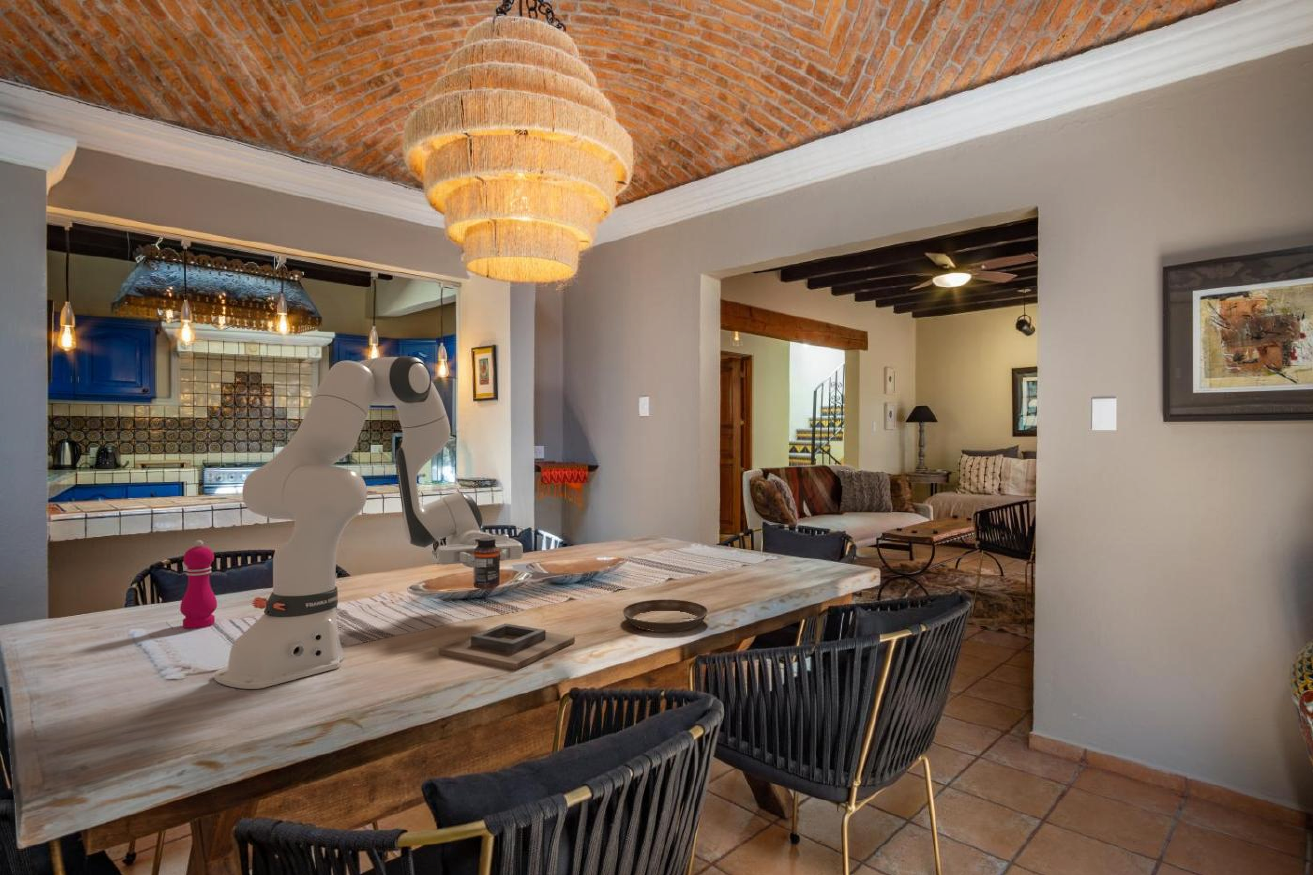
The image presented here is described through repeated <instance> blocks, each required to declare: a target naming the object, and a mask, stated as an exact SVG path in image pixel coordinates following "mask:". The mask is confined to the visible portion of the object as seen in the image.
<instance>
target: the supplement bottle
mask: <svg viewBox="0 0 1313 875" xmlns="http://www.w3.org/2000/svg"><path fill="white" fill-rule="evenodd" d="M495 544H496V543H495V538H490V537H485V538H479V539H478V546H477V547H476V548H475V549H474V555H475V558H474V559H475V562H474V566H473V567H474V568H473V577H472V578H473V581H472V582H473V583H472V584H473V587H474V588H475V589H479V590H490V589H492V590H493V589H495V588H497V587H499V586H500V578H501V577H500V576H501V575H500V574H501V573H500V572H501V571H500V567H501V566H500V563H501V561H500V551H499V548H497V547H496V545H495Z"/></svg>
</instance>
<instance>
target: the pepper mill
mask: <svg viewBox="0 0 1313 875" xmlns="http://www.w3.org/2000/svg"><path fill="white" fill-rule="evenodd" d="M214 561H215V554H214V551H213V550H212V549H211V548H209V547H207V546H204V542H203V540H201V539H198V540H195V541H194V546H193V547H192V548H191V547H190V548H189V549H188V550H186V551H185V553H184V555H183V563H184V565H185V566H186V567H187V568H186V569H185V570H186V573H185V575H187V577H188V580H187V581H188V583H187V587H186V591H185V593H184V595H183V597H182V600H181V602H180V608H179V611H180V613H181V614H182V615H183V616H184V618H183V619H182V628H183V627H184V628H183V629H187V628H195V629H202V628H201V627H203V628H208V627H211V626H213V625H214V624H215V619H216V618H215V617H216V616H215V615H214V614H213V613H214V612H215V610H216V609H217V607H218V604H217V603H218V601H217V598H216V597H217V596H216V595H215V593H214V591H213V589H212V587H211V582H210V574H211V573H212V566H211V565H212V563H213V562H214ZM212 624H213V625H212ZM210 625H211V626H210ZM207 626H208V627H207Z"/></svg>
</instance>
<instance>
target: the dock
mask: <svg viewBox="0 0 1313 875" xmlns="http://www.w3.org/2000/svg"><path fill="white" fill-rule="evenodd" d="M546 630H547V629H541V628H536V627H528V626H524V625H523V626H522V625H517V624H513V623H503V624H500V625H496V626H495V627H492V628H489V629H486V630H484V631H482V632H478V633H476V634H473V635H471V636H468V637H465V638H463V639H461V640H458V641H455V642H452V643H449V644H447V645H444V646H442V647H439V648H438V654H439V655H440V656H447V657H449V658H450V657H451V658H456V659H459V660H460V659H461V660H466V661H471V662H475V663H480V664H485V665H489V666H494V667H499V668H504V669H510V670H514V671H517V670H519V669H521V668H523V667H526V666H528V665H529V664H533V663H534V662H536V661H538V660H540V659H543V658H544V657H547V656H549V655H552V654H554V653H556V652H557V650H558V651H560V650H562V649H564V648H566V647H568V646H570V645H572V644H574V642H575V641H576V640H575V639H576V637H575V636H571V635H566V634H559V633H554V632H548V631H546ZM559 649H560V650H559Z"/></svg>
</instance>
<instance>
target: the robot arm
mask: <svg viewBox="0 0 1313 875" xmlns="http://www.w3.org/2000/svg"><path fill="white" fill-rule="evenodd" d="M371 406H385V407H388V406H390V407H391V406H394V407H395V409H396V413H397V414H396V415H397V417H398V420H399V424H400V426H401V431H402V441H401V445H400V447H399V448H398V449H397V450H396V452H395V466H396V467H395V468H396V474H397V483H398V490H399V496H400V503H401V510H402V512H401V513H402V527H403V533H404V536H405V537H406V539H407V541H408V542H409V544H411V545H412V546H416V547H420V548H424V549H425V548H427V547H430V546H431V545H433V544H435V543H436V542H438V541H440V540H442V539H445V545H444V544H443V545H438V546H437V547H436V550H432V552H431V554H432V556H434V557H436V563H437V564H438V565H442V566H443V565H444V566H445V565H446V566H447V565H457V564H458V565H459V564H462V565H463V566H465V567H467V568H472V569H474V567H473V566H474V562H475V559H474V558H475V555H474V549H475V548H476V547H477V546H478V539H479V538H485V537H490V538H495V543H496V544H495V545H496V547H497V548H499V551H500V562H504V561H511V560H512V561H513V560H521V559H522V558H523V556H524V555H523V554H524V553H523V552H524V550H523V549H524V547H523V544H522V543H521V542H520V541H518V540H516V539H514V538H510V536H509V534H505V533H504V534H501V533H490V532H489V533H488V532H484V531H481V530H482V527H483V517H482V513H481V511H480V508H479V506H478V504H477V502H476V501H475V499H474V498H473V497H472V496H470V495H468V494H467V493H466V492H463V491H457V492H455V493H452V494H449V495H446V496H444V497H441V498H439V499H436V500H434V501H432V502H428V503H426V504H424V505H421V503H420V502H421V501H420V496H419V490H418V483H417V480H418V475H419V472H420V471H421V469H422V468H423V467H424V466H425V465H426V464H427V463H428V462H430V461H431V460H432V459H433V458H434V457H436V456H437V455H438V454H439V453H440V452H441V451H443V449H444V448H445V447H446V445H447V444H448V442H449V439H450V438H451V426H450V420H449V417H448V415H447V412H446V408H445V405H444V403H443V400H442V398H441V396H440V394H439V392H438V390H437V388H436V386H435V384H434V382H433V380H432V376H431V373H430V370H429V368H428V367H427V365H426V364H425V363H424V361H423V360H421V359H420V358H418V357H414V356H410V355H409V356H408V355H401V356H388V357H384V356H381V357H380V356H379V357H374V358H369V359H365V360H355V361H353V360H342V361H338V362H336V363H335V364H334V365H332V366H331V368H330V369H329V370H328V371H327V373H326V374H325V376H324V377H323V379H322V380H321V382H320V384H319V386H318V387H317V389H316V391H315V393H314V395H313V397H312V400H311V401H310V403H309V406H308V408H307V411H306V412H305V415H304V417H303V419H302V421H301V423H300V425H299V427H298V429H297V430H296V432H295V433H294V435H293V436H292V437H291V439H290V440H289V441H288V442H287V444H286V445H285V446H284V447H282V449H281V450H280V451H279V452H278V453H277V454H276V455H275V456H274V457H273V458H271V459H270V460H269V461H267V463H265V464H263V465H262V466H260V467H258V468H256V469H254V470H253V471H252V472H251V473H249V474H248V475H247V477H246V479H245V481H244V482H243V486H242V491H241V493H242V500H243V503H244V505H245V506H246V508H247V509H248V510H249V511H250V512H252V513H254V514H257V515H260V516H262V517H266V518H269V519H272V520H273V519H274V520H287V521H288V520H289V521H290V520H291V521H294V525H293V530H292V532H291V533H292V534H291V535H290V538H289V539H288V540H287V541H286V542H284V543H283V544H281V545H280V546H279V547H278V548H276V550H275V551H274V554H273V558H272V588H273V589H272V592H271V593H270V595H269V598H268V599H267V598H264V597H263V598H262V597H261V596H257V597H255V598H253V600H252V603H251V605H252V607H253V608H255V609H261V610H262V609H264V610H263V613H264V614H263V615H262V616H261V617H260V618H258V619H257V621H255V622H254V623H253V624H252V625H251V626H250V627H249V628H248V629H247V630H246V631H244V632H243V633H242V634H241V635H240V636H239V637H238V638H237V639H236V640H234V642H233V643H232V646H231V648H230V652H229V658H228V662H227V663H228V664H227V666H226V667H223V668H220V669H217V670H216V671H215V672H214V676H213V680H214V681H215V682H217V683H219V684H221V685H224V686H228V687H232V688H236V689H247V690H251V689H252V690H253V689H254V690H255V689H256V690H258V689H264V688H268V687H271V686H276V685H279V684H282V683H287V682H290V681H295V680H297V679H298V680H299V679H302V678H305V677H309V676H313V675H317V674H320V673H324V672H327V671H332V670H336V669H338V668H340V666H341V664H340V663H341V661H342V660H343V659H344V657H345V653H344V651H343V648H342V644H341V640H340V634H339V628H338V621H337V608H338V604H339V602H338V601H339V596H338V595H339V593H338V591H339V590H338V587H337V586H336V571H337V570H336V568H337V566H336V564H337V552H338V546H339V542H340V539H341V538H342V535H343V533H344V530H345V528H346V527H347V526H348V525H349V523H350V522H351V521H352V520H353V519H354V518H355V517H357V516H358V515H359V514H360V513H361V511H362V510H363V509H364V507H365V505H366V501H367V499H368V490H367V485H366V481H365V480H364V478H363V477H362V475H361V474H360V473H359V472H357V471H354V470H352V469H347V468H345V467H340V466H336V465H334V464H336V462H338V461H339V460H341V459H343V458H345V457H346V456H348V455H349V454H351V452H352V451H353V450H354V449H355V448H356V446H357V443H358V440H359V437H360V435H361V432H362V430H363V427H364V425H365V422H366V419H367V417H368V414H369V411H370V408H371Z"/></svg>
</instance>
